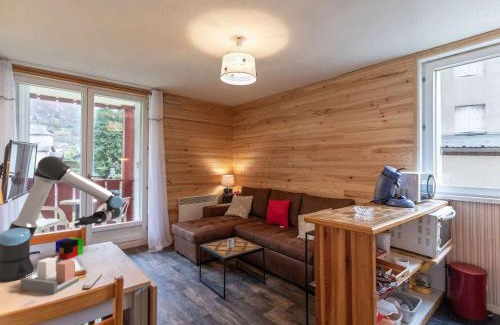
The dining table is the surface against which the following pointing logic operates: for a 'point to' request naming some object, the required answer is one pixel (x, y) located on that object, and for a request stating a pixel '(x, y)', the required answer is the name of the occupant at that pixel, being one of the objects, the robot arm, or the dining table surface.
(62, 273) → the salmon pink block
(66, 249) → the puzzle toy
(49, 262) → the white rectangular block
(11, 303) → the dining table surface
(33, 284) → the base
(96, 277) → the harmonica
